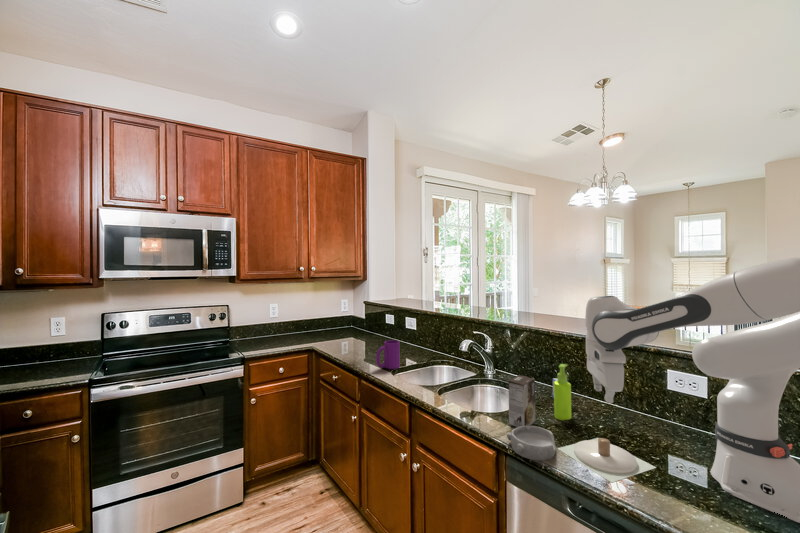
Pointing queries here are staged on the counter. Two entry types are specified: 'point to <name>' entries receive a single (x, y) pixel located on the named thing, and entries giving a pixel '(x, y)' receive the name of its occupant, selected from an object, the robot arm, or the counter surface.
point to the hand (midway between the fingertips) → (603, 396)
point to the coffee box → (521, 401)
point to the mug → (390, 355)
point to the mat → (611, 477)
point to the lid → (605, 456)
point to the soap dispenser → (562, 395)
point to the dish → (532, 442)
